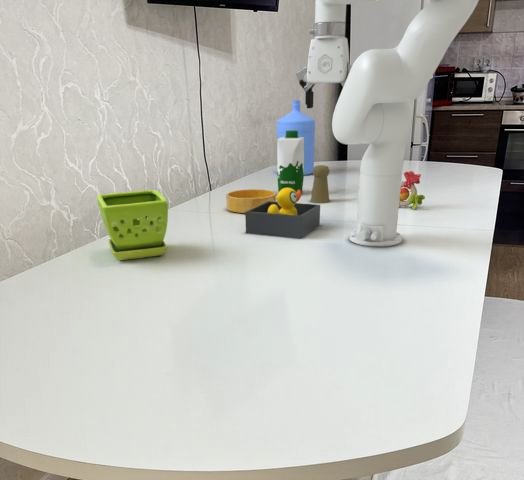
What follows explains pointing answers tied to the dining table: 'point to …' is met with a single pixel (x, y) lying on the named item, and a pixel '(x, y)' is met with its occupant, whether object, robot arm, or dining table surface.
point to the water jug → (300, 132)
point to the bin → (282, 220)
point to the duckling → (286, 202)
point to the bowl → (248, 199)
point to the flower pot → (135, 223)
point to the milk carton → (290, 161)
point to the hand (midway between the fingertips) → (327, 108)
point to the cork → (320, 184)
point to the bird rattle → (405, 193)
